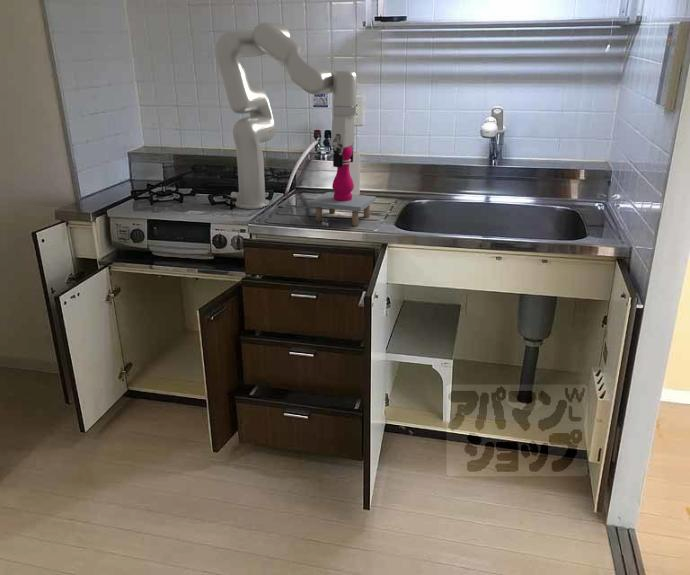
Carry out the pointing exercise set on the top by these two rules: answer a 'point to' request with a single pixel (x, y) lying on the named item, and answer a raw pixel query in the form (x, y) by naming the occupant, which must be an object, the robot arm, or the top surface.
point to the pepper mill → (343, 178)
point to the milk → (355, 173)
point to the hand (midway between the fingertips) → (343, 164)
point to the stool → (343, 205)
